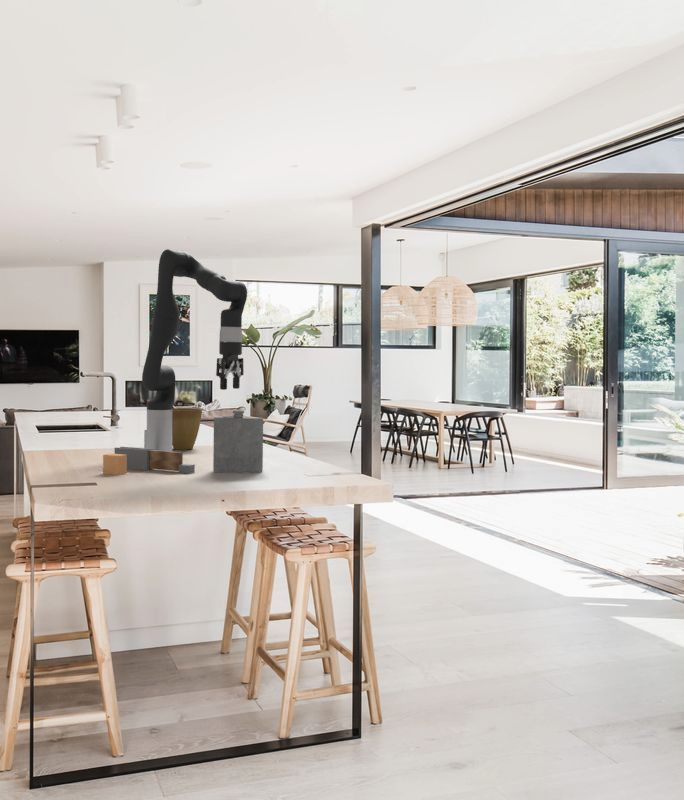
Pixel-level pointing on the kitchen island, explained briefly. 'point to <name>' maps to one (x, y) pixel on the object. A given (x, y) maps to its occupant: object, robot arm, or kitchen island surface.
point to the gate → (165, 460)
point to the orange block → (115, 464)
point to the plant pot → (185, 427)
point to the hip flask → (238, 444)
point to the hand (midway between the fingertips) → (229, 389)
